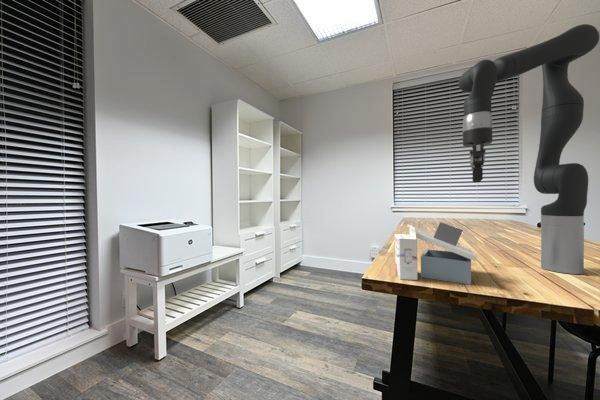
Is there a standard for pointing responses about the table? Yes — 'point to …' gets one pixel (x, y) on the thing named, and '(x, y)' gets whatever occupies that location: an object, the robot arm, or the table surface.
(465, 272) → the gray open box
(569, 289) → the table surface
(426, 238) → the lid
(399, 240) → the ink cartridge box
